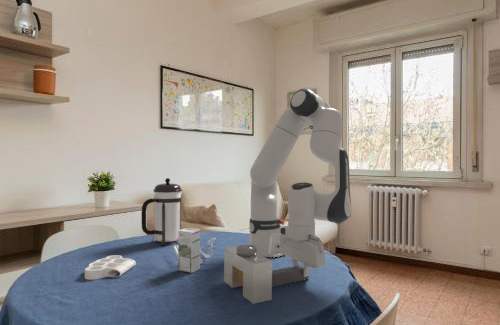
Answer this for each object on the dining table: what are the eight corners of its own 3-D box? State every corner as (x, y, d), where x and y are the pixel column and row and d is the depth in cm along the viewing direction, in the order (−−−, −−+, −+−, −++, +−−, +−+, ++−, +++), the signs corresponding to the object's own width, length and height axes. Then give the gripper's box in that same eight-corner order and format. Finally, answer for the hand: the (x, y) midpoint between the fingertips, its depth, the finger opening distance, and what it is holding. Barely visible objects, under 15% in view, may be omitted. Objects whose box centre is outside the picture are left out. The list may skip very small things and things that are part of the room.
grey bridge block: (240, 278, 114) (240, 239, 114) (271, 299, 98) (272, 253, 98) (224, 281, 112) (224, 241, 111) (253, 304, 95) (253, 256, 95)
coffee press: (156, 237, 171) (156, 177, 170) (188, 239, 169) (188, 177, 168) (140, 246, 154) (140, 179, 153) (175, 248, 152) (175, 179, 151)
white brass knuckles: (115, 282, 112) (73, 280, 114) (139, 264, 130) (102, 263, 132) (115, 272, 112) (73, 270, 114) (139, 256, 130) (102, 254, 131)
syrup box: (200, 268, 125) (200, 228, 124) (191, 273, 119) (191, 231, 119) (187, 266, 127) (187, 226, 127) (177, 271, 122) (177, 230, 121)
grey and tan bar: (301, 275, 118) (301, 261, 118) (310, 280, 113) (310, 265, 113) (246, 286, 108) (246, 270, 108) (254, 292, 103) (254, 275, 103)
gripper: (330, 237, 107) (329, 282, 107) (291, 226, 125) (290, 264, 125) (314, 240, 104) (313, 286, 104) (276, 227, 122) (276, 266, 122)
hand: (301, 274), depth 115 cm, fingers closed on grey and tan bar, 3 cm apart
